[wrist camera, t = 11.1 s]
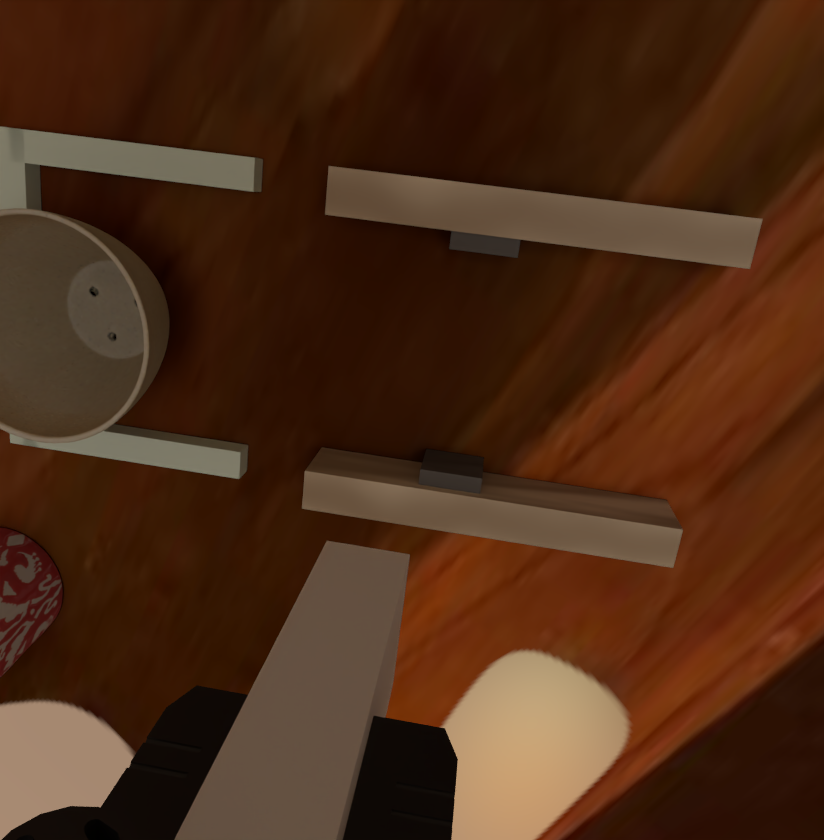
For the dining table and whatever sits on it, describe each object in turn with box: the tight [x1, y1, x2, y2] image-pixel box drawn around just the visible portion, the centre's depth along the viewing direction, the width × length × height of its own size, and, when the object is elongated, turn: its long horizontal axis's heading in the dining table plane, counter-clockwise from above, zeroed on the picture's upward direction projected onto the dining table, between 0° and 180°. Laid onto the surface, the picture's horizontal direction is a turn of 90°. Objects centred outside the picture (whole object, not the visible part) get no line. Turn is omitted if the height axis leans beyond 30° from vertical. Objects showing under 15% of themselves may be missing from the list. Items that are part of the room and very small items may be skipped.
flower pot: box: [0, 208, 169, 443], centre depth 34 cm, size 10×10×7 cm
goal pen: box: [0, 127, 263, 479], centre depth 37 cm, size 16×13×1 cm
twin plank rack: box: [302, 166, 762, 568], centre depth 34 cm, size 16×18×4 cm
